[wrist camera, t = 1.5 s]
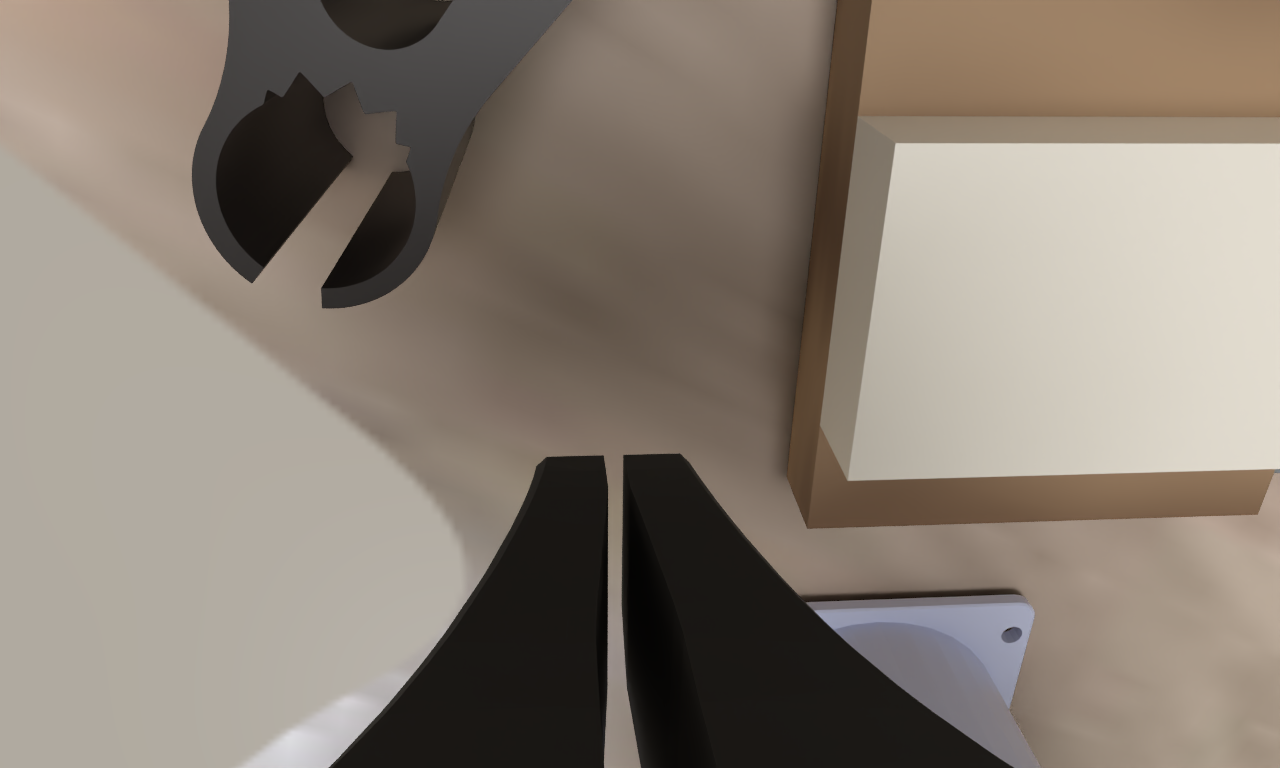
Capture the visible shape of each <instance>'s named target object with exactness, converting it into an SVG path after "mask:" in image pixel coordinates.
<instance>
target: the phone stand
mask: <svg viewBox="0 0 1280 768" xmlns="http://www.w3.org/2000/svg"><path fill="white" fill-rule="evenodd" d="M571 1H572V0H453V1H445V2H443V1H435V0H229V38H228V48H227V55H226V61H225V67H224V72H223V76H222V80H221V84H220V87H219V90H218V94H217V97H216V100H215V102H214V105H213V107H212V110H211V112H210V114H209V117H208V119H207V121H206V123H205V125H204V127H203V129H202V131H201V133H200V136H199V138H198V141H197V144H196V148H195V152H194V157H193V165H192V186H193V194H194V199H195V203H196V207H197V211H198V214H199V217H200V219H201V222H202V224H203V226H204V228H205V231H206V232H207V234H208V236H209V238H210V240H211V241H212V243H213V244H214V246H215V247H216V249H217V250H218V251H219V253H220V254H221V255H222V257H223V258H224V259H225V260H226V261H227V262H228V263H229V264H230V265H231V266H232V267H233V268H234V269H235V270H236V271H237V272H238V273H239V274H240V275H241V276H243V277H244V278H245V279H246V280H248V281H249V282H251V283H253V282H254V281H255V279H256V278H257V277H258V276H259V274H260V273H261V272H262V271H263V269H264V268H265V267H266V266H267V264H268V263H269V262H270V260H271V259H272V258H273V257H274V255H275V254H276V253H277V252H278V250H279V249H280V248H281V247H282V245H283V244H284V243H285V242H286V240H287V239H288V238H289V237H290V235H291V234H292V233H293V232H294V230H295V229H296V228H297V227H298V225H299V224H300V223H301V222H302V220H303V219H304V218H305V217H306V215H307V214H308V213H309V212H310V210H311V209H312V208H313V207H314V205H315V204H316V203H317V202H318V200H319V199H320V198H321V197H322V195H323V194H324V193H325V192H326V190H327V189H328V188H329V187H330V185H331V184H332V183H333V182H334V180H335V179H336V178H337V177H338V175H339V174H340V173H341V172H342V170H343V169H344V168H345V167H346V165H347V164H348V163H349V161H350V160H351V159H352V157H353V156H352V155H350V154H349V153H348V152H347V151H346V150H345V149H344V148H343V147H342V146H341V144H340V143H339V142H338V141H337V139H336V138H335V136H334V134H333V133H332V131H331V129H330V127H329V124H328V122H327V119H326V116H325V112H324V106H323V97H326V96H328V95H330V94H331V93H333V92H335V91H336V90H338V89H340V88H342V87H343V86H345V85H347V84H348V83H350V82H351V83H353V86H354V88H355V91H356V94H357V96H358V99H359V101H360V104H361V107H362V109H363V112H364V113H365V114H370V113H380V112H391V111H396V112H397V117H396V144H400V145H404V146H408V147H410V148H411V149H410V152H409V155H408V158H407V161H406V162H407V165H408V167H409V170H410V171H408V172H392V173H391V175H390V177H389V178H388V180H387V182H386V183H385V185H384V186H383V188H382V190H381V191H380V193H379V195H378V196H377V198H376V200H375V201H374V203H373V204H372V206H371V208H370V209H369V211H368V213H367V214H366V216H365V218H364V219H363V221H362V222H361V224H360V226H359V227H358V229H357V231H356V232H355V234H354V235H353V237H352V239H351V240H350V242H349V244H348V245H347V247H346V249H345V250H344V252H343V253H342V255H341V257H340V258H339V260H338V262H337V263H336V265H335V267H334V268H333V270H332V271H331V273H330V275H329V276H328V278H327V280H326V281H325V283H324V285H323V286H322V288H321V293H322V308H345V307H352V306H356V305H361V304H364V303H367V302H370V301H373V300H375V299H378V298H380V297H382V296H384V295H386V294H387V293H389V292H391V291H392V290H394V289H395V288H397V287H398V286H399V285H401V284H402V283H403V282H404V281H405V280H406V279H407V278H408V277H409V276H410V275H411V274H412V273H413V272H414V271H415V270H416V268H417V267H418V266H419V264H420V263H421V261H422V260H423V258H424V257H425V255H426V253H427V251H428V249H429V247H430V244H431V242H432V239H433V236H434V234H435V231H436V228H437V225H438V223H439V220H440V217H441V215H442V212H443V209H444V207H445V204H446V201H447V199H448V196H449V193H450V191H451V188H452V185H453V182H454V180H455V177H456V174H457V172H458V169H459V166H460V164H461V161H462V158H463V156H464V153H465V150H466V147H467V145H468V142H469V139H470V137H471V134H472V130H473V126H474V120H475V116H476V114H477V113H478V111H479V110H480V108H481V107H482V106H483V104H484V103H485V102H486V101H487V99H488V98H489V97H490V96H491V95H492V93H493V92H494V91H495V90H496V89H497V88H498V86H499V85H500V84H501V83H502V82H503V81H504V79H505V78H506V77H507V76H508V75H509V74H510V72H511V71H512V70H513V69H514V68H515V67H516V65H517V64H518V63H519V62H520V61H521V60H522V58H523V57H524V56H525V55H526V54H527V53H528V51H529V50H530V49H531V48H532V47H533V46H534V44H535V43H536V42H537V41H538V40H539V39H540V37H541V36H542V35H543V34H544V33H545V32H546V30H547V29H548V28H549V27H550V26H551V25H552V23H553V22H554V21H555V20H556V19H557V18H558V16H559V15H560V14H561V13H562V12H563V11H564V9H565V8H566V7H567V6H568V5H569V4H570V2H571Z"/></svg>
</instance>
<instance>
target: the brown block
mask: <svg viewBox="0 0 1280 768" xmlns="http://www.w3.org/2000/svg"><path fill="white" fill-rule="evenodd" d="M858 116H1026V117H1280V0H838V2H837V11H836V21H835V30H834V39H833V49H832V58H831V67H830V77H829V86H828V95H827V105H826V114H825V123H824V133H823V142H822V152H821V161H820V170H819V180H818V189H817V198H816V208H815V217H814V226H813V236H812V245H811V254H810V264H809V273H808V283H807V292H806V301H805V311H804V320H803V329H802V339H801V348H800V357H799V367H798V376H797V385H796V395H795V404H794V413H793V423H792V432H791V442H790V451H789V460H788V470H787V479H788V481H789V484H790V486H791V489H792V491H793V494H794V496H795V499H796V501H797V504H798V506H799V509H800V511H801V514H802V517H803V519H804V522H805V524H806V527H807V529H812V528H844V527H875V526H907V525H939V524H971V523H1003V522H1034V521H1066V520H1098V519H1130V518H1162V517H1193V516H1225V515H1257V514H1258V512H1259V510H1260V507H1261V505H1262V502H1263V499H1264V497H1265V494H1266V492H1267V489H1268V487H1269V484H1270V481H1271V479H1272V476H1273V474H1274V471H1275V469H1260V470H1223V471H1187V472H1151V473H1114V474H1078V475H1042V476H1006V477H969V478H933V479H897V480H860V481H847V479H846V477H845V475H844V473H843V471H842V469H841V467H840V465H839V463H838V461H837V459H836V457H835V455H834V453H833V451H832V449H831V446H830V444H829V442H828V440H827V438H826V436H825V434H824V432H823V430H822V428H821V426H820V421H821V413H822V404H823V396H824V388H825V380H826V372H827V364H828V356H829V347H830V339H831V331H832V323H833V315H834V307H835V298H836V290H837V282H838V274H839V266H840V258H841V249H842V241H843V233H844V225H845V217H846V209H847V200H848V192H849V184H850V176H851V168H852V160H853V151H854V143H855V135H856V127H857V119H858Z"/></svg>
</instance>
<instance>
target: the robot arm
mask: <svg viewBox="0 0 1280 768" xmlns="http://www.w3.org/2000/svg"><path fill="white" fill-rule="evenodd" d="M1034 613H1035V611H1034V610H1033V608H1032V606H1031V605H1030V603H1029V602H1028V600H1027V599H1026V598H1025V597H1023V596H1021V595H1014V594H1012V595H985V596H959V597H932V598H905V599H879V600H852V601H826V602H805V601H804V600H803V599H802V598H801V597H800V596H799V595H798V594H797V593H796V592H795V591H794V590H793V589H792V588H791V587H790V586H789V585H788V584H787V583H786V582H785V581H784V580H783V578H782V577H781V576H780V575H779V574H778V573H777V572H776V571H775V570H774V569H773V567H772V566H771V565H770V564H769V563H768V562H767V561H766V559H765V558H764V557H763V556H762V555H761V554H760V553H759V552H758V550H757V549H756V548H755V547H754V546H753V545H752V544H751V542H750V541H749V540H748V539H747V538H746V537H745V535H744V534H743V533H742V532H741V531H740V529H739V528H738V527H737V526H736V525H735V523H734V522H733V521H732V520H731V518H730V517H729V516H728V515H727V513H726V512H725V511H724V509H723V508H722V507H721V506H720V504H719V503H718V502H717V500H716V499H715V498H714V497H713V495H712V494H711V493H710V491H709V490H708V488H707V487H706V486H705V484H704V483H703V482H702V480H701V479H700V477H699V476H698V475H697V473H696V472H695V470H694V469H693V467H692V466H691V464H690V463H689V462H688V461H687V460H686V459H685V458H684V457H683V456H682V455H681V454H644V455H623V538H622V617H623V633H624V649H625V664H626V679H627V690H628V696H629V701H630V707H631V713H632V719H633V724H634V730H635V736H636V741H637V747H638V753H639V758H640V764H641V768H1041V766H1040V765H1039V763H1038V761H1037V759H1036V757H1035V756H1034V754H1033V752H1032V750H1031V748H1030V747H1029V745H1028V743H1027V741H1026V739H1025V738H1024V736H1023V734H1022V732H1021V730H1020V729H1019V727H1018V725H1017V723H1016V721H1015V720H1014V718H1013V716H1012V714H1011V712H1010V711H1009V709H1010V705H1011V701H1012V698H1013V694H1014V690H1015V687H1016V683H1017V679H1018V676H1019V672H1020V668H1021V665H1022V661H1023V657H1024V654H1025V650H1026V646H1027V643H1028V639H1029V635H1030V632H1031V628H1032V624H1033V621H1034ZM1011 627H1013V628H1012V629H1010V630H1009V631H1006V632H1004V631H1005V630H1006V629H1008V628H1011ZM607 655H608V483H607V475H606V468H605V462H604V456H564V457H546V458H545V459H544V460H543V461H542V462H541V463H540V464H538V465H537V466H536V470H535V474H534V477H533V480H532V483H531V486H530V488H529V491H528V493H527V496H526V498H525V500H524V502H523V505H522V507H521V509H520V511H519V513H518V515H517V517H516V519H515V521H514V523H513V525H512V527H511V529H510V531H509V533H508V534H507V536H506V538H505V540H504V541H503V543H502V545H501V547H500V548H499V550H498V552H497V554H496V555H495V557H494V559H493V561H492V562H491V564H490V566H489V568H488V569H487V571H486V573H485V574H484V576H483V578H482V579H481V581H480V582H479V584H478V585H477V587H476V588H475V590H474V591H473V593H472V594H471V596H470V597H469V599H468V600H467V602H466V603H465V604H464V606H463V607H462V609H461V610H460V612H459V613H458V615H457V616H456V618H455V619H454V621H453V622H452V624H451V625H450V627H449V628H448V630H447V631H446V632H445V634H444V635H443V636H442V638H441V639H440V640H439V642H438V643H437V644H436V646H435V647H434V648H433V650H432V651H431V652H430V654H429V655H428V656H427V658H426V659H425V660H424V661H423V663H422V664H421V665H420V666H419V668H418V669H417V670H416V672H415V673H414V674H413V675H412V676H411V678H410V679H409V680H408V681H407V682H406V684H405V685H404V686H403V687H402V688H401V690H400V691H399V692H398V693H397V694H396V696H395V697H394V698H393V699H392V700H391V701H390V703H389V704H388V705H387V706H386V707H385V708H384V709H383V711H382V712H381V713H380V714H379V715H378V716H377V717H376V718H375V719H374V720H373V721H372V722H371V724H370V725H369V726H368V727H367V728H366V729H365V730H364V731H363V732H362V733H361V734H360V735H359V736H358V738H357V739H356V740H355V741H354V742H353V743H352V744H351V745H350V746H349V747H348V748H347V749H346V750H345V752H344V753H343V754H342V755H341V756H340V757H339V758H338V759H337V760H336V761H335V762H334V763H333V764H332V765H331V766H330V767H329V768H604V747H605V727H606V707H607Z"/></svg>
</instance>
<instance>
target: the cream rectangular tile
mask: <svg viewBox="0 0 1280 768" xmlns="http://www.w3.org/2000/svg"><path fill="white" fill-rule="evenodd" d="M820 426H821V428H822V430H823V432H824V434H825V436H826V438H827V440H828V442H829V444H830V446H831V449H832V451H833V453H834V455H835V457H836V459H837V461H838V463H839V465H840V467H841V469H842V471H843V473H844V475H845V477H846V479H847V481H860V480H897V479H933V478H969V477H1006V476H1042V475H1078V474H1114V473H1151V472H1187V471H1223V470H1260V469H1280V117H1026V116H858V119H857V127H856V135H855V143H854V151H853V160H852V168H851V176H850V184H849V192H848V200H847V209H846V217H845V225H844V233H843V241H842V249H841V258H840V266H839V274H838V282H837V290H836V298H835V307H834V315H833V323H832V331H831V339H830V347H829V356H828V364H827V372H826V380H825V388H824V396H823V404H822V413H821V421H820Z"/></svg>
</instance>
